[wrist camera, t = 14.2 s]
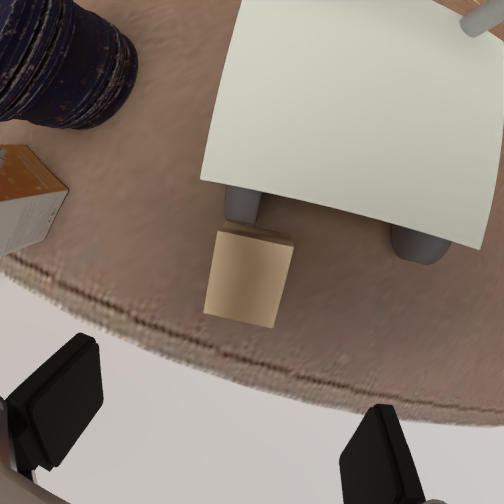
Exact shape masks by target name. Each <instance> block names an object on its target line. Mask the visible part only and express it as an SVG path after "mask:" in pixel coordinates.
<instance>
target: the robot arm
mask: <svg viewBox="0 0 504 504" xmlns="http://www.w3.org/2000/svg"><path fill="white" fill-rule="evenodd" d="M100 368H101V367H100V354H99V345H98V344H97V343H96V341H95V339H94V338H93V337H90V336H88V335H86V334H83V333H78V334H76V335H75V336H74V337H73V338H72V339H71V340H69V341H68V342H67V343H66V344H65V345H64V346H62V347H61V348H60V349H59V350H58V351H57V352H56V353H55V354H53V355H52V356H51V357H50V358H49V359H48V360H47V361H46V362H45V363H43V364H42V365H41V366H40V367H39V368H38V369H37V370H36V371H35V372H33V373H32V374H31V375H30V376H29V377H28V378H27V379H26V380H25V381H24V382H23V383H22V384H20V385H19V386H18V387H17V388H16V389H15V390H14V391H13V392H12V393H11V394H10V395H9V396H8V398H6V399H5V400H3V398H2V397H1V396H0V504H70V503H68V502H66V501H65V500H63V499H61V498H59V497H57V496H55V495H54V494H52V493H50V492H49V491H47V490H45V489H43V488H42V487H40V486H38V485H37V480H36V474H35V469H36V468H37V467H38V465H39V466H41V467H43V468H45V469H46V470H48V471H49V472H50V471H51V470H52V468H53V467H58V466H59V465H60V464H61V462H62V461H63V459H64V458H65V457H66V455H67V454H68V452H69V451H70V449H71V448H72V447H73V445H74V444H75V442H76V441H77V439H78V438H79V437H80V435H81V434H82V432H83V431H84V430H85V428H86V427H87V426H88V424H89V423H90V421H91V420H92V418H93V417H94V416H95V414H96V413H97V411H98V410H99V409H100V408H101V406H102V404H103V399H104V398H103V389H102V379H101V369H100ZM339 466H340V474H341V483H342V491H343V501H344V504H446V503H445V502H444V501H441V500H435V499H432V500H428V501H426V499H425V496H424V493H423V490H422V486H421V483H420V480H419V477H418V474H417V470H416V467H415V465H414V461H413V458H412V456H411V453H410V450H409V447H408V445H407V443H406V439H405V437H404V434H403V431H402V428H401V426H400V423H399V420H398V417H397V415H396V412H395V409H394V407H393V406H392V405H387V404H376V405H374V407H370V408H369V409H368V411H367V413H366V414H365V416H364V418H363V420H362V421H361V423H360V425H359V426H358V428H357V430H356V431H355V433H354V435H353V436H352V438H351V439H350V441H349V443H348V444H347V446H346V447H345V449H344V450H343V452H342V454H341V456H340V459H339Z"/></svg>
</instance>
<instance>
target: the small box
mask: <svg viewBox="0 0 504 504" xmlns="http://www.w3.org/2000/svg"><path fill="white" fill-rule="evenodd" d="M67 192H68V188H67V187H65V186H64V185H63V184H62V183H61V182H60V181H59V180H58V179H57V178H56V177H55V176H54V175H53V174H52V173H51V172H50V171H49V170H48V169H47V168H46V167H45V166H44V165H43V164H42V163H41V162H40V160H39V159H38V158H37V157H36V156H35V155H34V154H33V153H32V151H31V150H30V149H29V148H28V147H27V146H26V145H0V257H2V256H4V255H7V254H9V253H12V252H15V251H17V250H20V249H22V248H25V247H27V246H30V245H33V244H35V243H38V242H40V241H43V240H44V239H45V237H46V235H47V233H48V231H49V229H50V227H51V224H52V222H53V220H54V218H55V216H56V214H57V212H58V210H59V208H60V206H61V204H62V202H63V200H64V198H65V196H66V194H67Z"/></svg>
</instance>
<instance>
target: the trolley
mask: <svg viewBox="0 0 504 504" xmlns="http://www.w3.org/2000/svg"><path fill="white" fill-rule="evenodd" d="M502 22H504V0H487V1H485V2H484V3H483V4H481V5H480V6H478V7H477V8H476V9H474V10H473V11H471V12H470V13H469V14H467V15H466V16H464V17H463V16H461V15H459V14H457V13H456V12H454V11H452V10H450V9H448V8H446V7H444V6H442V5H440V4H438V3H436V2H434V1H432V0H242V3H241V6H240V10H239V13H238V17H237V20H236V24H235V27H234V31H233V35H232V38H231V42H230V46H229V50H228V54H227V58H226V61H225V65H224V69H223V74H222V78H221V82H220V86H219V90H218V94H217V99H216V103H215V108H214V112H213V117H212V121H211V126H210V131H209V135H208V140H207V145H206V150H205V155H204V160H203V165H202V170H201V176H200V179H201V180H206V181H212V182H217V183H222V184H227V186H226V194H225V207H224V212H225V218H226V219H229V220H234V221H239V222H243V223H248V224H253V225H255V223H256V219H257V215H258V211H259V207H260V203H261V199H262V194H263V192H267V193H271V194H276V195H280V196H285V197H289V198H294V199H298V200H302V201H307V202H311V203H315V204H319V205H323V206H328V207H332V208H336V209H340V210H344V211H348V212H351V213H355V214H359V215H363V216H367V217H371V218H374V219H378V220H382V221H385V222H389V223H391V238H392V245H393V248H394V251H395V253H396V255H397V256H398V257H399V258H401V259H404V260H408V261H412V262H416V263H420V264H424V265H430V264H433V263H435V262H436V261H438V260H439V259H440V258H441V257H442V256H443V255H444V254H445V252H446V251H447V250H448V248H449V247H450V245H451V243H452V241H453V242H456V243H459V244H462V245H465V246H468V247H471V248H474V249H477V250H480V248H481V244H482V241H483V237H484V233H485V229H486V226H487V222H488V217H489V213H490V209H491V204H492V200H493V195H494V190H495V184H496V179H497V173H498V166H499V159H500V152H501V144H502V134H503V122H504V43H503V41H502V40H500V39H499V38H497V37H496V36H494V35H493V34H491V33H490V32H488V31H487V30H489V29H491V28H493V27H495V26H496V25H498V24H500V23H502Z"/></svg>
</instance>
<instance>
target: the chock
mask: <svg viewBox="0 0 504 504" xmlns="http://www.w3.org/2000/svg"><path fill="white" fill-rule="evenodd" d="M293 249H294V246H293V241H292V237H291V235H287V234H283V233H278V232H274V231H269V230H265V229H260V228H256V227H251V226H247V225H242V224H237V223H233V222H228V221H227V222H226V223H225V224H224V225H223V226H222V227H221V228H220V229H219V230H218V232H217V237H216V243H215V248H214V254H213V260H212V265H211V271H210V277H209V282H208V288H207V294H206V300H205V306H204V313H206V314H210V315H214V316H219V317H223V318H227V319H232V320H236V321H241V322H245V323H250V324H254V325H259V326H264V327H268V328H273V326H274V322H275V319H276V315H277V311H278V307H279V304H280V300H281V296H282V292H283V288H284V285H285V281H286V277H287V273H288V269H289V265H290V261H291V257H292V253H293Z"/></svg>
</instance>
